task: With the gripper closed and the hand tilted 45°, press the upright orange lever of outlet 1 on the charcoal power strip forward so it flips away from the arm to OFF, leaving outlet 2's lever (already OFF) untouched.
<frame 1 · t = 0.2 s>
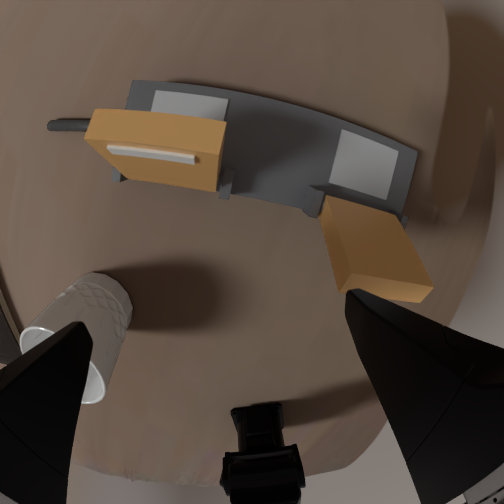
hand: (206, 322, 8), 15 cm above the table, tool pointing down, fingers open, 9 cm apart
lever outlet2: (164, 158, 14), point 7 cm above the table, hinge at 22.0°
white cup: (103, 301, 24), on the table
power strip: (272, 150, 20), on the table
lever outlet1: (371, 244, 16), point 7 cm above the table, hinge at -22.0°
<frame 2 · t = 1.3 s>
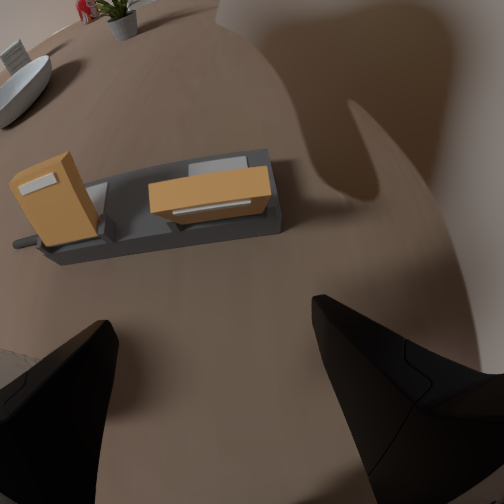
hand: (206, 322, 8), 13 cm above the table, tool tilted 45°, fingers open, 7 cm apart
lever outlet2: (55, 207, 17), point 7 cm above the table, hinge at 22.0°
white cup: (49, 392, 19), on the table
house plant: (132, 34, 44), on the table
serving bowl: (24, 106, 37), on the table
power strip: (155, 216, 25), on the table
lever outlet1: (215, 202, 17), point 7 cm above the table, hinge at -22.0°
soda can: (92, 21, 57), on the table
milk: (140, 3, 57), on the table
supplement box: (24, 73, 47), on the table
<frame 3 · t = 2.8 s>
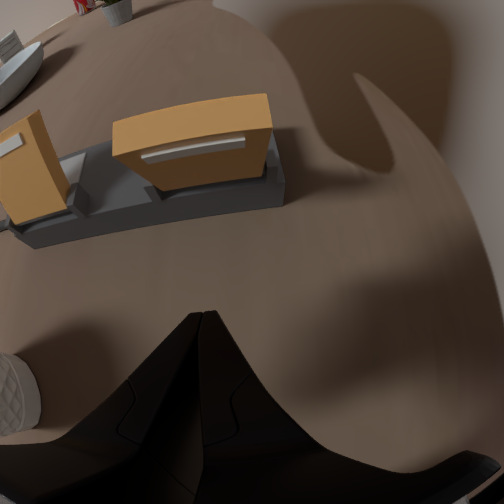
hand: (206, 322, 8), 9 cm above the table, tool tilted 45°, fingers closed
lever outlet2: (23, 176, 13), point 7 cm above the table, hinge at 22.0°
white cup: (20, 392, 15), on the table
house plant: (127, 19, 40), on the table
serving bowl: (15, 94, 33), on the table
power strip: (137, 189, 21), on the table
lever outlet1: (202, 155, 13), point 7 cm above the table, hinge at -22.0°
soda can: (88, 12, 53), on the table
supplement box: (19, 64, 42), on the table
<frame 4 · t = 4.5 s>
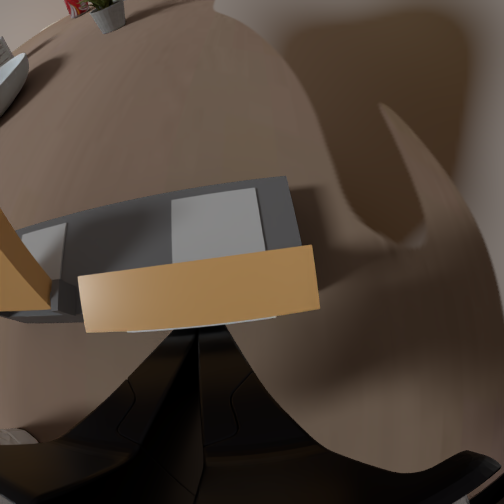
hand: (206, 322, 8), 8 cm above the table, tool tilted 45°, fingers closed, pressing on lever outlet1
white cup: (33, 461, 12), on the table
house plant: (119, 25, 36), on the table
serving bowl: (0, 111, 30), on the table
power strip: (131, 268, 18), on the table
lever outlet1: (209, 287, 10), point 7 cm above the table, hinge at -17.1°, touching gripper
soda can: (81, 14, 49), on the table
supplement box: (8, 73, 39), on the table
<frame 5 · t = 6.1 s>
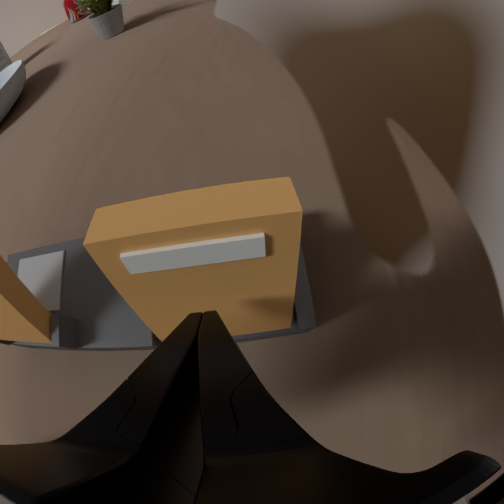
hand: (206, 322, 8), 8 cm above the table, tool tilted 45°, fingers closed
house plant: (118, 31, 36), on the table
power strip: (132, 298, 17), on the table
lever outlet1: (210, 287, 10), point 7 cm above the table, hinge at 18.4°
soda can: (80, 19, 49), on the table
supplement box: (6, 79, 39), on the table
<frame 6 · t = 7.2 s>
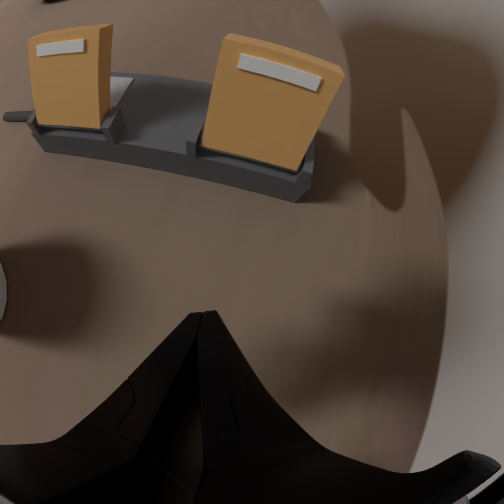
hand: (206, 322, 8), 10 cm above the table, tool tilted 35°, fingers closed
lever outlet2: (67, 81, 12), point 7 cm above the table, hinge at 22.0°
power strip: (169, 132, 20), on the table
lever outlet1: (264, 109, 14), point 7 cm above the table, hinge at 18.7°
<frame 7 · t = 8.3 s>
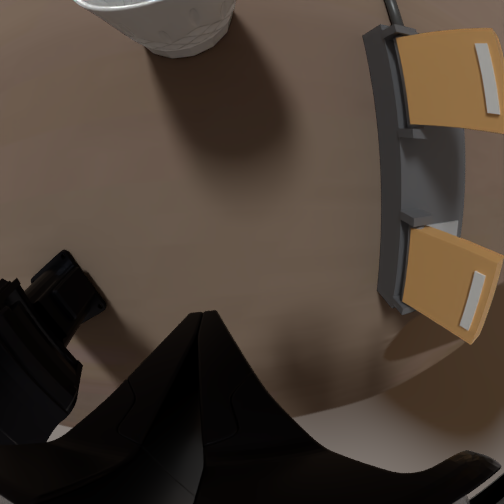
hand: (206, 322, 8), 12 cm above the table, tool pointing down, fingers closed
lever outlet2: (451, 79, 10), point 7 cm above the table, hinge at 22.0°
white cup: (184, 21, 14), on the table
power strip: (414, 166, 19), on the table
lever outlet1: (445, 280, 15), point 7 cm above the table, hinge at 18.7°
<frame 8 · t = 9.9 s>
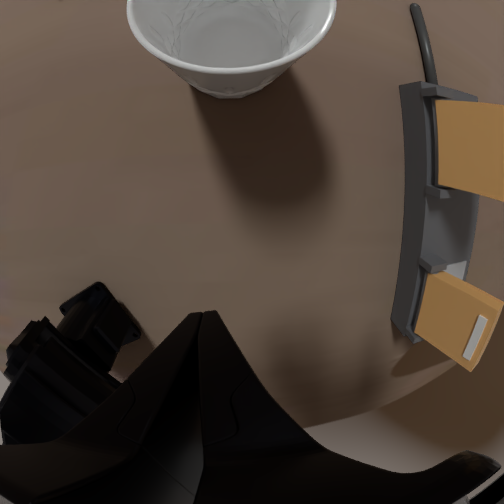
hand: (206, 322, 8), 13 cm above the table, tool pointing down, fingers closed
lever outlet2: (480, 148, 12), point 7 cm above the table, hinge at 22.0°
white cup: (230, 57, 16), on the table
power strip: (432, 211, 21), on the table
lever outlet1: (453, 318, 17), point 7 cm above the table, hinge at 18.7°
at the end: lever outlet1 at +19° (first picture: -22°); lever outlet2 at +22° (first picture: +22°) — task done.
